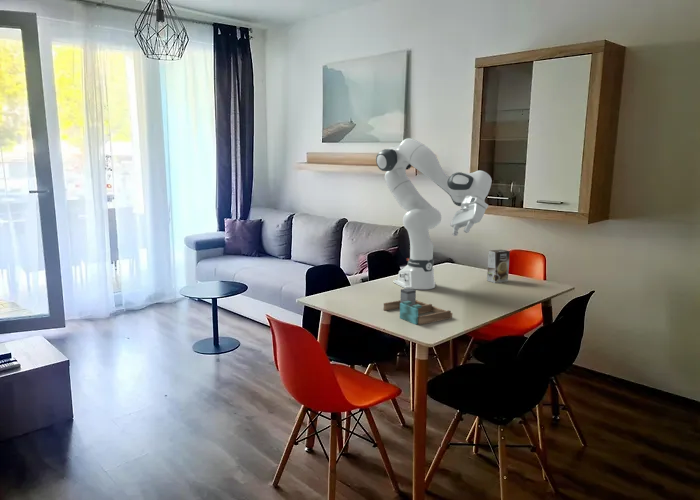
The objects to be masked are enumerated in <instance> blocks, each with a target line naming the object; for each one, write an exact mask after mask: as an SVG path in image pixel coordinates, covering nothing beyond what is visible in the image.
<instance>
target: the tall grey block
mask: <svg viewBox="0 0 700 500" xmlns="http://www.w3.org/2000/svg"><path fill="white" fill-rule="evenodd" d="M416 290H417V289H410V288H407V289H406V288H402V289H400V300H401V301H400V303H403V302H404V301H411V302H412V304H408V305H409V306H411V307H412V305H415V301H416V300H417V299H416V297H417V295H416V294H417V291H416Z"/></svg>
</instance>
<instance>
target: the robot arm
mask: <svg viewBox="0 0 700 500" xmlns="http://www.w3.org/2000/svg"><path fill="white" fill-rule="evenodd" d="M375 162H376V166H377V168H378V169H379V170H380V171H382V172H385V174H384V180H385V183H386V185H387V188H388V189H389V191H390V193H391V194H392V195H393V197H394V199H395V201H396V202H397V203H398V205H399V206H400V207H401V208H402V209H404V210H405V211H407V212H405V214H404V215H403V217H402V224H403V225H402V226H403V227H404V228H405V229H406V231H407V234H408V238H409V244H410V245H409V248H410V249H409V257H407V259H406V262H407V265H405V266H404V267H403V268H402V269H400V270H399V271H398V274H397V276H398V277H397V279H393V280H392V281H393V283H394V284H396V285H398V286H400V287H402V288H403V289H407V288H410V289H413V290H431V289H432V290H433V289H434V288H435V287H436V281H435V270H434V268H433V267H434V262H435V260H434V256H433V255H434V243H433V240H431V238H430V231H429V230H432V229H435V228H436V227H437V226H439V225H440V223H441V221H442V215H441V212H440V210H439V209H437V208H436V207H435V206H432V205H431V204H430V203H429V201H427V200H426V198H424V197H423V196H422V194H421V193H419V191H418V189H417V188H416V187H415V185H414V184H413V182H412V181H411V180H410V178H409V176H408V175H407V172H406V171H407V170H410V169H411V167H413V168H414V169H416V170H417V171H418V172H420V173H422V174H423V175H424V176H425V177H427V178H428V179H430V180H431V181H432V182H434V183H435V184H436V185H437V186H439V188H440V189H442V190H443V191H444V192H445V193H447V194H448V195H449V197H450V199H451V201H452V202H453V204H454V205H455V206H457V207H461V209H459V210H457V211H456V212H455V214H454V215H453V217H452V219H451V221H450V227H452V228H453V229H452V235H453V236H454V237H457V236H458V234H459V230H460V229H461V228H463V233H466V234H467V233H470V230H471V229H472V228H473V226H474V224H477V223H480V222H481V221H482V219H483V217H484V215H485V214H486V213H485V212H486V210H488V208H489V204H488V203H486V201H485V200H486V197H488V195H489V193H490V189H491V187H492V182H493V181H492V179H493V178H492V177H491V175H490V174H489V173H488V172H486V171H484V170H476V171H474V172H462V171H461V172H459V171H458V172H454V173H452V174H451V175H450V176H449V175H448V174H446V172H445V171H444V169H443V167H442V166H441V164H440V162H439V160H438V158H437V155H436V154H435V153H434V151H432V149H431V148H429V147H428V146H426V145H425V144H423V143H421V142H420V141H418V140H416V139H414V138H410V137H407V138H405V139H403V140H402V141H400V144H399V145H394V146H391V147H388V148H386V149H385V148H384V149H382V150H380V151H378V153H377V154H376V157H375Z"/></svg>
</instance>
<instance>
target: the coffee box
mask: <svg viewBox="0 0 700 500" xmlns="http://www.w3.org/2000/svg"><path fill="white" fill-rule="evenodd" d="M510 253H511V252H510V250H507V249H492V250H491V249H490V250H488V257H487V258H488V259H487V273H486V274H487V275H486V281H487V282H490V283H493V284H497V283H505V282H508V281H509V271H510V269H509V268H510Z"/></svg>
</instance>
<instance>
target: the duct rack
mask: <svg viewBox="0 0 700 500" xmlns="http://www.w3.org/2000/svg"><path fill="white" fill-rule="evenodd" d="M400 301H401V299H400V300H394V301H389V302H388V301H387V302H383V311H384V312H385V311H391V310H395V309H397V310H398V309H399V319H402V320H404V321H405V322H409V323H411V324H413V325H419V326H421V325H427V324H430V323H434V322H439V321H443V320H449V319H452V318H453V312H451V310H445V309H442V308H440V307H437V306H433V304H432V303H429V304H428V303H425V302H423V301H419V300H417V299H416V301H415V305H412V307H411V306H409V305H408V304H412V302H411V301H404V302H403V303H400ZM430 312H432V313H430ZM425 313H426V314H425ZM427 313H429V314H427ZM420 314H424V315H420Z"/></svg>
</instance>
